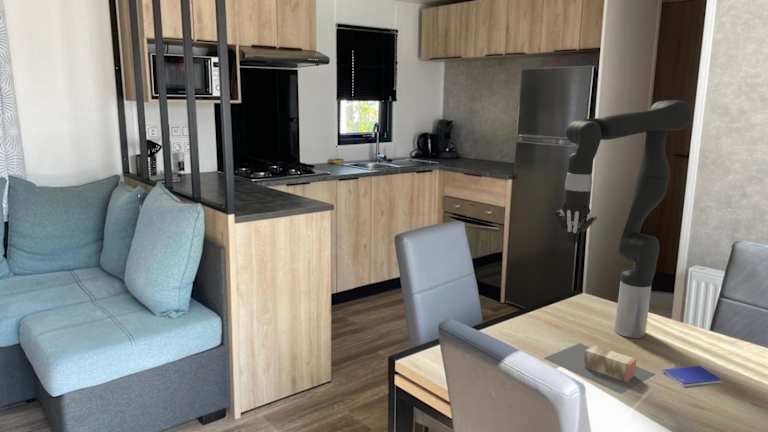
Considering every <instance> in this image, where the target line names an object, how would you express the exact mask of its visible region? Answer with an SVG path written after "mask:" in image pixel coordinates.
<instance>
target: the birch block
mask: <svg viewBox="0 0 768 432" xmlns="http://www.w3.org/2000/svg"><path fill="white" fill-rule="evenodd" d="M588 347H589V348H588V349H587V350H585V359H584V367H585V368H588V369H591V370H594V371H597V372H600V373H602V374H605V375H608V376H611V377H614V378H617V379H620V380H623V381H625V382H629V381H630V380H631V379H632V378H633V377H634V374H635V367H636V366H637V358H634V357H631V356H628V355H625V354H622V353H619V352H615V351H612V350H610V349H606V348H603V347H600V346H596V345H593V344H592V345H591V346H588Z"/></svg>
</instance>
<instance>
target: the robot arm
mask: <svg viewBox="0 0 768 432" xmlns="http://www.w3.org/2000/svg"><path fill="white" fill-rule="evenodd" d="M692 119H693V110H692V107H691V105H690V104H688V103H687V102H686V101H684V100H679V99H675V100H673V99H668V100H660V101H659V100H658V101H657V102H654V103H653V104H652V105H651V107H650V109H649V110H644V111H633V112H631V111H630V112H623V113H622V112H621V113H617V114H612V115H606V116H602V117H598V118H597V117H596V118H595V117H594V118H585V119H577V120H575V121H574V120H573V122H571V123H569V125H568V126H567V127H566V130H565V136H566V138H567V140H568V141H569V142H570V143H572V144H574V145H578V146H577V150H576V151H575V152H573V153H570V155H569V156H568V161H567V163H568V164H567V171H566V173H567V174H566V177H565V182H564V195H563V205H562V206H561V209H559V210H557V211H554V216H555V217H556V219H557V221H558V222H559V224H560V226H561V228H562V229H563V230H566V231H567V242H568V244H569V245H573V246H574V245H577V244H578V243H579V240H580V239H579V237H580V233H582V232H586V230H588V229H589V228H590V227H591V225H593V224H594V223H595V222H596V221H597V220H598V217H597V216H594V215H593V214H592V213H591V208H590V204H591V197H592V196H591V195H592V189H593V187H592V185H593V167H594V160H595V158H596V155H597V153H598V150H599V147H600V144H601V140H602V141H611V140H615V139H618V138H624V137H628V136H629V137H630V136H633V135H639V134H643V133H644V134H645V135H644V144H643V149H642V154H641V159H640V163H639V168H638V172H637V175H636V179H635V185H634V189H633V193H632V197H631V198H632V199H631V203H630V206H629V210H628V215H627V217H626V220H625V224H624V227H623V229H622V233H621V235H620V239H619V243H618V254H619V256H620V258H622V259H624V260H628V261H629V262H634V263H637V265H636V269H628V270H623V271H622V272H621V274H620V279H619V280H620V281H619V282H620V283H619V289H618V291H619V292H618V299H617V306H616V315H615V323H614V332H615V333H616V334H617V335H620V336H623V337H626V338H630V339H642V338H644V337H645V336H646V331H647V326H648V325H647V324H648V317H649V316H648V315H649V309H650V308H649V307H650V299H651V293H652V284H653V280H654V278H655V274H656V270H657V269H656V268H657V263H658V259H659V255H660V241H659V239H658V238H657V237H655V236H653V235H648V234H645V233H641V230H642V226H643V224H644V221H645V220H646V218H647V217H648V215H649V214H650V213H651V212H652V211H653V210H654V209H655V208H656V207H657V206H658V205H659V204H660V203H661V202H662V201H663V199H664V198H665V197H666V194H667V190H668V187H669V183H670V178H671V170H670V166H669V165H670V164H669V162H668V158H667V155H666V141H667V140H666V139H667V136H668V131H670V132H671V131H673V132H675V131H680V130H682V129H685V128H686V127H687V126H689V124H690V122H691V121H692ZM584 220H586V222H585V223H584V224H583V221H584Z"/></svg>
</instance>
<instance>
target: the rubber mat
mask: <svg viewBox="0 0 768 432" xmlns="http://www.w3.org/2000/svg"><path fill="white" fill-rule="evenodd" d="M589 347H590V346H588V345H585V344H583V343H580V342H579V343H576V344H574V345H571V346H569V347H567V348H565V349H562V350H559V351H557V352H555V353H552V354H550V355H548V356H546V357H543V359H544V360H546V361H548V362H551V363H552V364H555V365H558V366H559V367H562V369H563V368H564V369H565V370H568V371H571V372H572V373H574V374H577V375H579V376H581V377H584V378H586V379H588V380H590V381H592V382H594V383H596V384H598V385H601V386H603V387H605V388H608V389H610V390H612V391H614V392H616V393H618V394H622V393H624V392H627V391H628V390H630V389H632V388H633V387H635V386H637V385H639V384H641V383H642V382H645V381H646V380H648V379H650V378H652V377H653V376H655V375H656V373H655V372H651V371H649V370H648V369H644V368H642V367H639V366H637V365H636V367H635V374H634V377H633V378H632V379H631V380H630V381H629V382H625V381H623V380H620V379H617V378H614V377H611V376H608V375H605V374H602V373H600V372H597V371H594V370H591V369H588V368H585V367H584V359H585V350H587V349H588V348H589Z"/></svg>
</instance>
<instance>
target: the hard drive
mask: <svg viewBox="0 0 768 432" xmlns="http://www.w3.org/2000/svg"><path fill="white" fill-rule="evenodd" d="M661 371H663V373H662V374H663V375H665V376H666V377H668V378H669V379H671V380H672V381H673V382H675V383H677V384H678V385H679V386H681V387H691V386H700V385H708V384H709V385H710V384H718V383H719V382H720V383H722V378H720V377H719V376H717V375H715V374H714V373H712V372H711V371H710V370H709V371H708V370H707V369H705V368H704V367H702V366H700V365H696V366H686V367H675V368H673V367H672V368H662V369H661Z"/></svg>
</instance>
